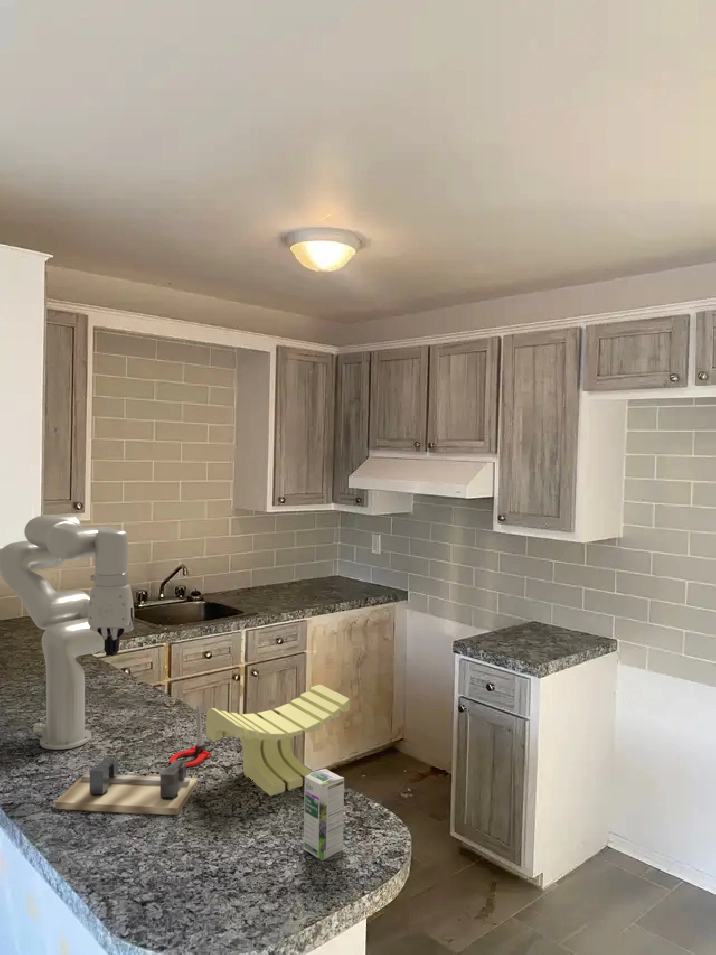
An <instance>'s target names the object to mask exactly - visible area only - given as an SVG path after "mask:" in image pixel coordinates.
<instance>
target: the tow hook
mask: <svg viewBox="0 0 716 955" xmlns="http://www.w3.org/2000/svg"><path fill="white" fill-rule="evenodd" d="M200 706H201V705H199V704H198V705H196V714H195V715H196V717H195V718H196V719H195V720H196V736H195V739H196V742H195V743H196V744H195V745H194V746H190V748H189V749H186V750H182V751H178V752H176V753H174V754H173V755H171V757H170V758H169V764H170V763H171V764H172V762H173V761H177V760H178V759H179V758H178V757H180V756H182V757H184V756H183V755H186V756H193V755H196V754H198V755H197V758H196V759H194V760H192V761H187V762H185V763H186V767H189V768H191V767H190V766H193V767H195V766H194V765H196V766H199V765H200V764H202V763H203V762H204V760H205V759H210V758H211V757H212V753H211V752H210V751H207V750H206V745H205V744H204V735H203V730H202V713H201V707H200ZM192 754H193V755H192ZM209 757H210V758H209ZM177 758H178V759H177ZM180 758H181V757H180ZM176 759H177V760H176ZM171 764H170V765H171Z"/></svg>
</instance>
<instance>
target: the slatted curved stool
mask: <svg viewBox="0 0 716 955" xmlns="http://www.w3.org/2000/svg"><path fill="white" fill-rule="evenodd" d="M350 701H351V700H350V698H349V697H346V696H344V695H343V694H340V693H339V692H336V691H334V690H332V689H331V688H328V687H326V686H324V685H322V684H317V685H314V686H312V687H310V688H309V690H308V691H306V692H303V693H301V694H300V695H299V697H297V698H294V699H292V700H289V703H287V704H283V705H280V706H279V707H275V708H273V710H272V709H269V710H265V711H261V712H257V713H245V714H244V713H241V714H240V715H239V714H238V713H236V712H230V713H229V712H228V711H226V710H219V709H217V708H214V707H210V708H209V709H208V710H207V712H206V717H205V737H207V739H209V740H210V741H212V742H213V743H215V742H217V741H219V740H220V739H222V738H223V737H224V738H229V737H234V738H235V739H239V740H240V743H241V747H242V754H243V755H242V756H243V758H242V770H243V774H244V776H245V775H246V776H245V777H247V778H248V777H249V778H250V779H251V780H250V779H249V778H248V779H249V780H250V781H252V780H253V781H252V782H253V783H254V782H255V783H256V784H255V783H254V784H255V785H256V786H258V787H259V788H260V789H261V790H263V791H264V792H265V793H266V794H268V795H269V796H270V797H271V796H274V795H278V794H281V793H284V792H286V790H288V791H291V790H294V789H298V788H300V787H303V784H304V785H305V776H307V775H309V774H311V773H313V772H314V771H313V770H311V769H310V768H309V767H307V766H306V765H305V764H304V763H302V762H301V761H300V760H299V759H298V758H297V756H296V755H295V754H294V752H293V751H292V747H291V743H292V742H291V741H292V738H293V737H296V736H300V735H303V734H304V733H306V734H308V733H311V732H315V731H318V730H321V724H322V725H329V724H330V723H331V718H333V719H335V718H339V717H341V712H342V713H343V712H349V711H350V708H351V706H350V705H351V704H350Z"/></svg>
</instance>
